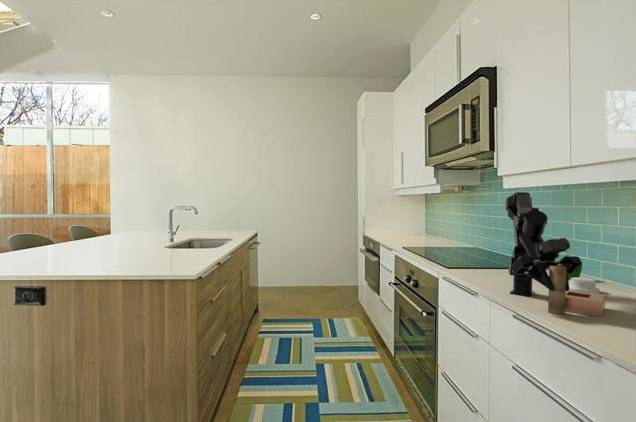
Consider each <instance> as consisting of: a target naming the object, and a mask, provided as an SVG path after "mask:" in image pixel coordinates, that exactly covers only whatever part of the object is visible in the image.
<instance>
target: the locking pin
mask: <svg viewBox="0 0 636 422" xmlns="http://www.w3.org/2000/svg"><path fill="white" fill-rule="evenodd" d="M548 270H549V271H548V272H549V274H548V276H549V278H550V280H551V281H552V283H553V285H554V288H555V290H554V291H551V290H549V289H548V300H547V301H548V304H547V305H548V307H547V312H548V313H549V314H551V313H552V315H556V314H558V315H557V316H564V315H565V314H566V313H565V312H566V311H565V289H566V267H565V266H558V265H550V267H549V269H548ZM563 314H564V315H563Z"/></svg>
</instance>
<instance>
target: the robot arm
mask: <svg viewBox="0 0 636 422" xmlns="http://www.w3.org/2000/svg"><path fill="white" fill-rule="evenodd" d="M504 207H505V211H507V217H508V218H509V219H511V221H512V223H513V224H512V225H513V233H514V234H513V235H514V244H515V246H514V248H513V249H512V255H511V256H510V257H509V262H508V263H509V264H508V274H509V276H513V285H512V287H513V289H512V290H510V291H509V294H514V295H520V296H527V297H528V296H529V297H532V296H533V295H535V294H536V291H534V290H533V280H534V281H536V282H538V283H539V284H541V285H542V286H543V287H544V288H546V289H547V290H548V291H549V290H551V291H554V290H555V288H554V285H553V283H552V281H551V280H550V278H549V274H548V273H547V269H548V270H549V267H550V265H558V266H565V267H566V289H565V290H566V291H568V290H569V285H570V282H569V279H568V274H572V273H573V272H574V271H575V270H576V269H577V268H578V267H579V266H580V265H581V264H582V265H583V261H582V259H581V258H580V257H579V256H576V255H570V256H566V255H565V256H563V259H562V258H561V259H562V260H561V261H559V260H556V259H558V258H559V257H560V253H562V252H566V251H568V250H570V249H571V245H570V241H569V240H568V239H567V237H560V238H552V239H547V240H544V238H543V234H544V232H545V228H546V226H547V225H548V216H547V215H546V214H545V212H543V211H541V210H539V207H533V197H531V194H530V192H528V191H526V192H525V191H516V192H513V194H512V195H510V196H507V198H506V200H505V205H504Z"/></svg>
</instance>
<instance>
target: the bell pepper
mask: <svg viewBox="0 0 636 422" xmlns="http://www.w3.org/2000/svg"><path fill="white" fill-rule="evenodd" d="M564 255H565V256H571V254H570V253H565V254H564ZM562 259H563V258H560V259H559V260H558V261H561V260H562ZM582 271H583V263H582V264H581V265H580V266H579V267H578V268H577V269H576V270H575V271H574V272H573V273H572V274H568V280H570V279H571V278H573V277H574V278H575V277H578V278H581V274H582Z"/></svg>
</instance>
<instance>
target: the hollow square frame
mask: <svg viewBox="0 0 636 422" xmlns="http://www.w3.org/2000/svg"><path fill="white" fill-rule="evenodd" d="M605 309H606V294H604V293H603V294H602V293H589V292H581V291H574V290H568V291H566V290H565V312H568V311H569V312H568V313H576V314H582V315H588V316H593V317H599V318H602V317H603V316H602V315H603V313H604V311H605Z"/></svg>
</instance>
